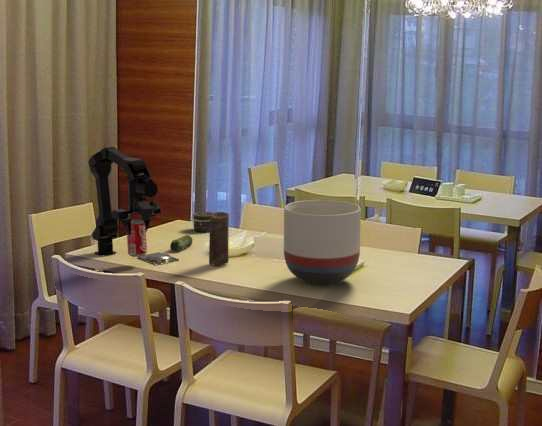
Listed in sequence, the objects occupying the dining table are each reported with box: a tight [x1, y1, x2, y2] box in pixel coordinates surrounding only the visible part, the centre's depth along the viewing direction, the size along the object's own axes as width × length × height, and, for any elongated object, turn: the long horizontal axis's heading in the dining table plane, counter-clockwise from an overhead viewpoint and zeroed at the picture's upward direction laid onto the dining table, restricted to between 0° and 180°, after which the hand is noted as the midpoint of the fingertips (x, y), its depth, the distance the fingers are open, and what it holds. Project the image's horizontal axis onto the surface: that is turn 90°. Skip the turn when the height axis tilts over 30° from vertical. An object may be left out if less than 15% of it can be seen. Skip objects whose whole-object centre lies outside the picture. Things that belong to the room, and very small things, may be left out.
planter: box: [283, 199, 362, 286], centre depth 290 cm, size 27×27×27 cm
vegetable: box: [169, 234, 193, 253], centre depth 338 cm, size 14×5×5 cm, turn 157°
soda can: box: [126, 219, 148, 258], centre depth 311 cm, size 7×7×13 cm
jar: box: [192, 211, 213, 234], centre depth 369 cm, size 10×10×8 cm
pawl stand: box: [137, 251, 180, 265], centre depth 322 cm, size 14×10×1 cm
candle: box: [208, 211, 230, 267], centre depth 312 cm, size 8×7×20 cm
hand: (137, 234), depth 310 cm, fingers closed on soda can, 6 cm apart
